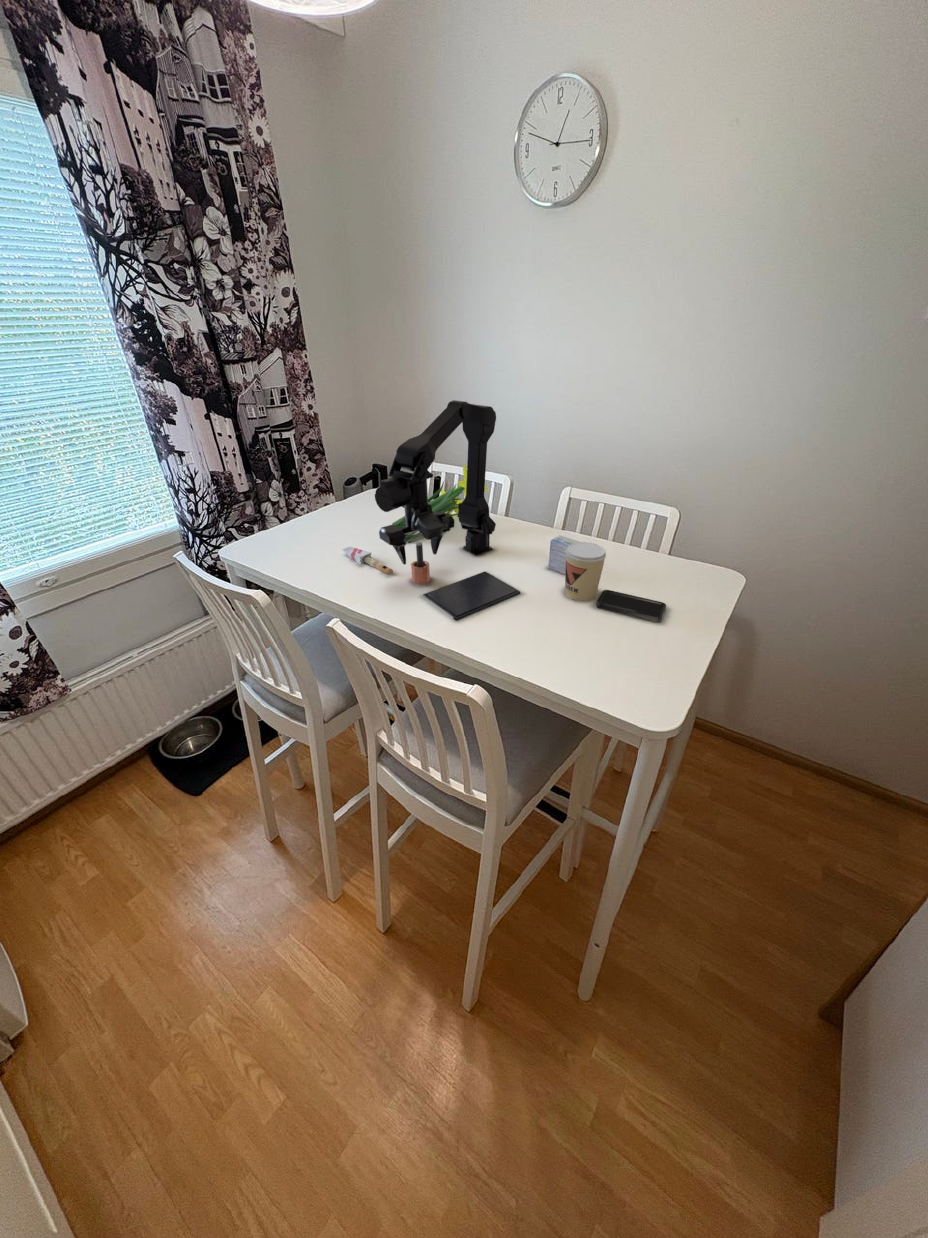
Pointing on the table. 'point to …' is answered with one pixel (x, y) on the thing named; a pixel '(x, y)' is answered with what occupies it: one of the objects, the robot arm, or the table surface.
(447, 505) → the daffodil flowers
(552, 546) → the medicine box
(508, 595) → the tablet
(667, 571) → the table surface
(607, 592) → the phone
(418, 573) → the pen cup
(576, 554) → the coffee cup
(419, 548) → the stylus
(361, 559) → the paintbrush
